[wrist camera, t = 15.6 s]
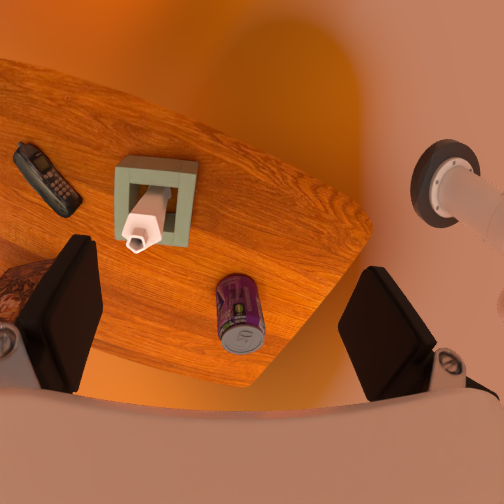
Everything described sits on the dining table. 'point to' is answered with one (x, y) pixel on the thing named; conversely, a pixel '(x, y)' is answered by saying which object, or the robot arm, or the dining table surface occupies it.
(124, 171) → the holder
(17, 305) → the book
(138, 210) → the perfume bottle
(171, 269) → the dining table surface
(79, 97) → the dining table surface
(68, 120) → the dining table surface
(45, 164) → the mobile phone
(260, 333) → the beverage can
